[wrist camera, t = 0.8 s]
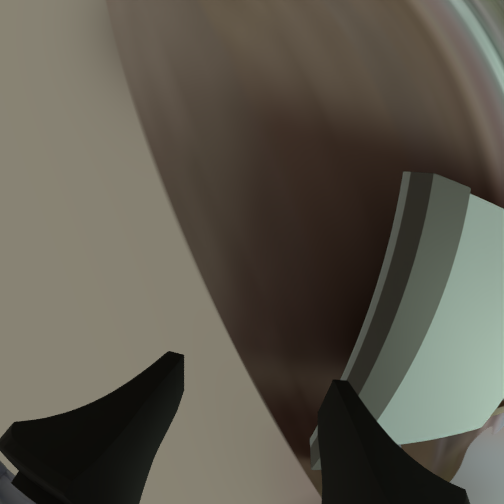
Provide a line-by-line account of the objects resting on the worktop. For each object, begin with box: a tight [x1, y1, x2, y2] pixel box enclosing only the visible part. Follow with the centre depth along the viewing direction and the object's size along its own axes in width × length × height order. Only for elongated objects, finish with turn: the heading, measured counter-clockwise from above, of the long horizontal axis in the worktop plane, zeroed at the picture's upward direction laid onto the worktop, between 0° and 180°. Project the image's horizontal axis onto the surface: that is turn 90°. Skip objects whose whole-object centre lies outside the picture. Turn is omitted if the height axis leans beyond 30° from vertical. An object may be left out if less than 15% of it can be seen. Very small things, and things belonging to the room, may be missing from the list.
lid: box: [310, 171, 504, 470], centre depth 11 cm, size 18×18×3 cm
